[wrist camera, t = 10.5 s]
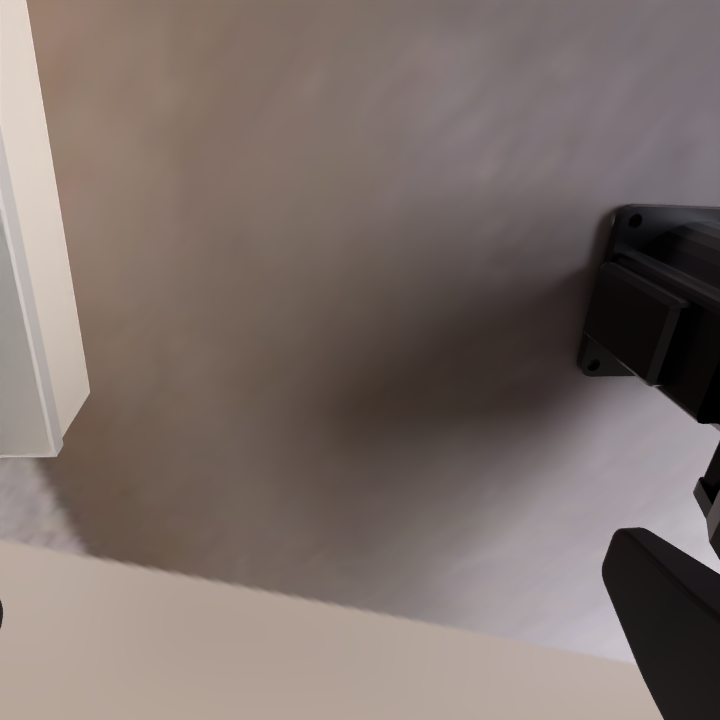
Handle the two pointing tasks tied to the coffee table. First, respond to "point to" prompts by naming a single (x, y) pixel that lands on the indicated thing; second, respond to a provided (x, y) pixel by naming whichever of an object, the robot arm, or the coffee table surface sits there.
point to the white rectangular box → (32, 264)
